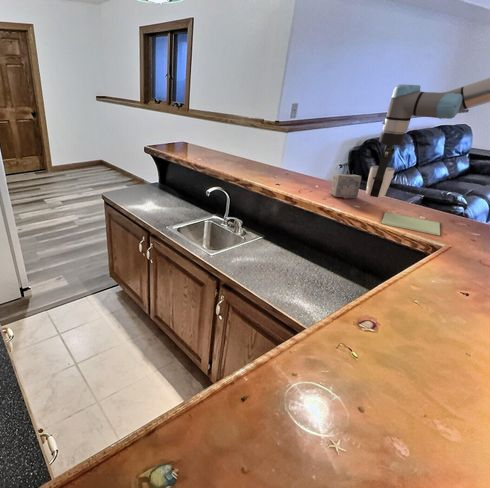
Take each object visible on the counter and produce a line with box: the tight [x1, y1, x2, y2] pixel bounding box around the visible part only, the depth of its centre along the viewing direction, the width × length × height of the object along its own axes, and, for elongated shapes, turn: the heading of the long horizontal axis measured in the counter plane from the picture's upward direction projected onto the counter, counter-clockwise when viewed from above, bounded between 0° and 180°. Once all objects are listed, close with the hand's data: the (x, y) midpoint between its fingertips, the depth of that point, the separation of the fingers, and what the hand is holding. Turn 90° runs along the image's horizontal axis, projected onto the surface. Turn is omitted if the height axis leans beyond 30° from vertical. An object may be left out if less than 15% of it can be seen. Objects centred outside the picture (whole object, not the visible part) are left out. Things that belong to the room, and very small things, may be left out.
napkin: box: [380, 211, 441, 237], centre depth 131 cm, size 18×14×1 cm
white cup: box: [365, 165, 396, 198], centre depth 132 cm, size 8×8×10 cm
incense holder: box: [329, 172, 362, 200], centre depth 156 cm, size 10×8×10 cm
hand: (375, 193), depth 134 cm, fingers closed on white cup, 8 cm apart
